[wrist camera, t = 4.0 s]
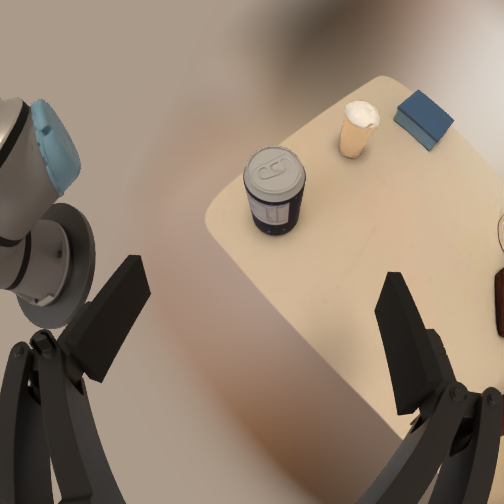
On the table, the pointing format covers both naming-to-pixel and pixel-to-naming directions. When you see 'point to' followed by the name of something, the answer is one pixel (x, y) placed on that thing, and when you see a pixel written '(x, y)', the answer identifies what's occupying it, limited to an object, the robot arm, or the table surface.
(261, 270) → the table surface
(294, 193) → the beverage can
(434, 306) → the table surface
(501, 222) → the mug
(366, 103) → the milkshake
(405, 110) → the storage box
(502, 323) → the pastry
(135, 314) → the robot arm
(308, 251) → the table surface
